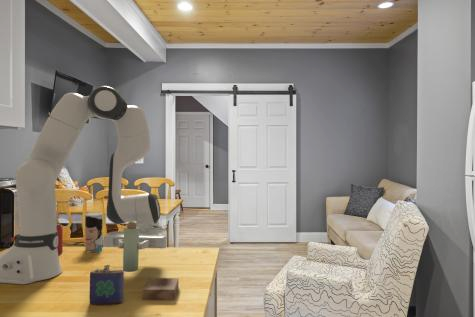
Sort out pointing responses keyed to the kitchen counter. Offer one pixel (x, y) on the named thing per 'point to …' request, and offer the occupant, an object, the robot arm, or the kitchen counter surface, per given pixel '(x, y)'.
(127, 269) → the pepper mill
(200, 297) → the kitchen counter surface
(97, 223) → the cup
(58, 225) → the beer can
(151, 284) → the plinth
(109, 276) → the flask
